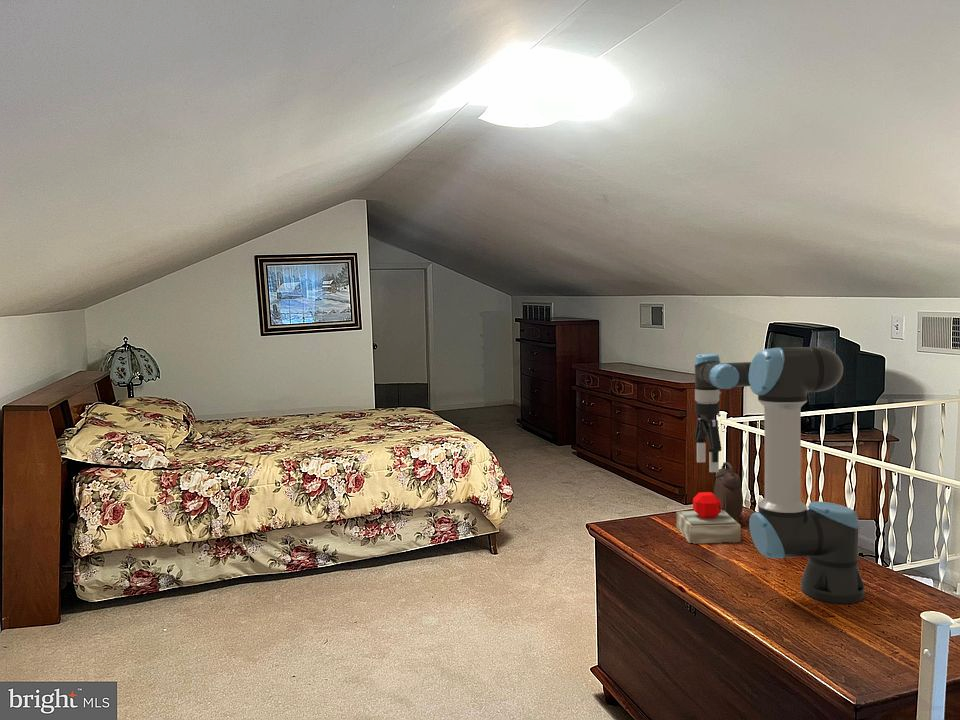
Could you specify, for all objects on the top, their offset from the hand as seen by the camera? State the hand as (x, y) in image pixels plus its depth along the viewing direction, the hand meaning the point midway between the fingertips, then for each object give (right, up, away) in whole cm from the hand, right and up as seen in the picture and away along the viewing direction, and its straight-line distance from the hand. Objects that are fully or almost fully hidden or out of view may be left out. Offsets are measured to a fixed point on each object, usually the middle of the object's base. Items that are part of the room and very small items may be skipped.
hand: (707, 467), depth 240 cm
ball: (0, -17, +2) cm, 17 cm away
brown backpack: (+13, -21, +17) cm, 30 cm away
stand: (+1, -22, +2) cm, 23 cm away
